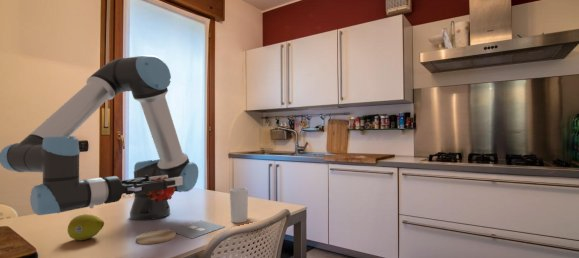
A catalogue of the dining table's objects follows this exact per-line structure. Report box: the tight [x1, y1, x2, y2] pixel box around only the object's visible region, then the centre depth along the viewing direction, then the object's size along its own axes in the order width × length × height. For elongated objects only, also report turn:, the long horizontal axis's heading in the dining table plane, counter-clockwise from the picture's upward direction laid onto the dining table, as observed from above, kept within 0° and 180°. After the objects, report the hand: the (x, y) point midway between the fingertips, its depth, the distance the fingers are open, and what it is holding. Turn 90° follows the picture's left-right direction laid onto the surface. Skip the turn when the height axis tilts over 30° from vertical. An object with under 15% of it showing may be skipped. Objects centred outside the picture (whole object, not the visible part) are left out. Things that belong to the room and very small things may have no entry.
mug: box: [229, 187, 249, 224], centre depth 118 cm, size 10×7×12 cm, turn 161°
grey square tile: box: [169, 219, 226, 239], centre depth 107 cm, size 14×14×1 cm
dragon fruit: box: [145, 177, 176, 202], centre depth 100 cm, size 8×8×12 cm
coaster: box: [135, 229, 177, 245], centre depth 99 cm, size 12×12×1 cm
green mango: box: [67, 213, 105, 241], centre depth 98 cm, size 11×8×8 cm
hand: (174, 179), depth 104 cm, fingers closed on dragon fruit, 8 cm apart
